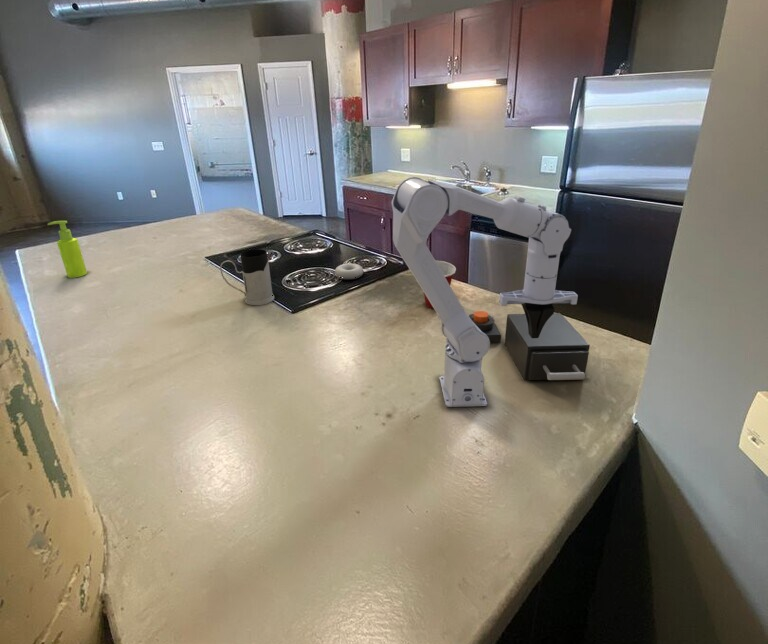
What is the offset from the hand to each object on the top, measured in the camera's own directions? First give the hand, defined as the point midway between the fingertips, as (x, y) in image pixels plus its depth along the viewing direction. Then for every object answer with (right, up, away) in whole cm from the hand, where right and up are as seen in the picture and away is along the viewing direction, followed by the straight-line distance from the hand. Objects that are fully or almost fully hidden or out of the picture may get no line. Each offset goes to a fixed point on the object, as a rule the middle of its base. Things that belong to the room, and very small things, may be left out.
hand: (533, 335), depth 84 cm
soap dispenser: (-142, +12, +67) cm, 158 cm away
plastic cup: (-15, +3, +38) cm, 41 cm away
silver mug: (-71, +4, +43) cm, 83 cm away
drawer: (+5, -8, +6) cm, 11 cm away
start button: (-6, +1, +21) cm, 22 cm away
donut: (-42, +11, +61) cm, 75 cm away
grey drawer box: (+5, -7, +10) cm, 13 cm away
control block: (-6, -3, +22) cm, 23 cm away
